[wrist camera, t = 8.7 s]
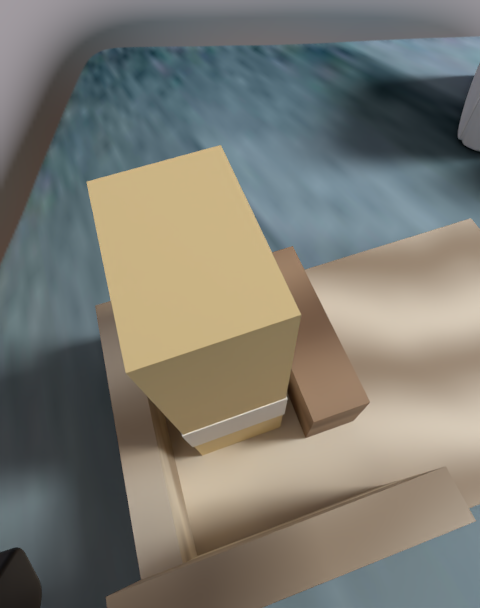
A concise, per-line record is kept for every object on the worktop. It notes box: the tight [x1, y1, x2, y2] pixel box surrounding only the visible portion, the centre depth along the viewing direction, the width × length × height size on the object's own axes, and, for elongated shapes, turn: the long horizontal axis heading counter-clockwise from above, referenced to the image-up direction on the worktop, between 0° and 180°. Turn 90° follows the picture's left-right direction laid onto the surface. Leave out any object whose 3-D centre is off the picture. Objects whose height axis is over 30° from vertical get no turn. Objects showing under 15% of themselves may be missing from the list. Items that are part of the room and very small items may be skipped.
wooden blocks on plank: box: [95, 218, 480, 608], centre depth 17 cm, size 14×23×8 cm, turn 108°
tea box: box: [87, 145, 301, 456], centre depth 15 cm, size 6×4×12 cm
